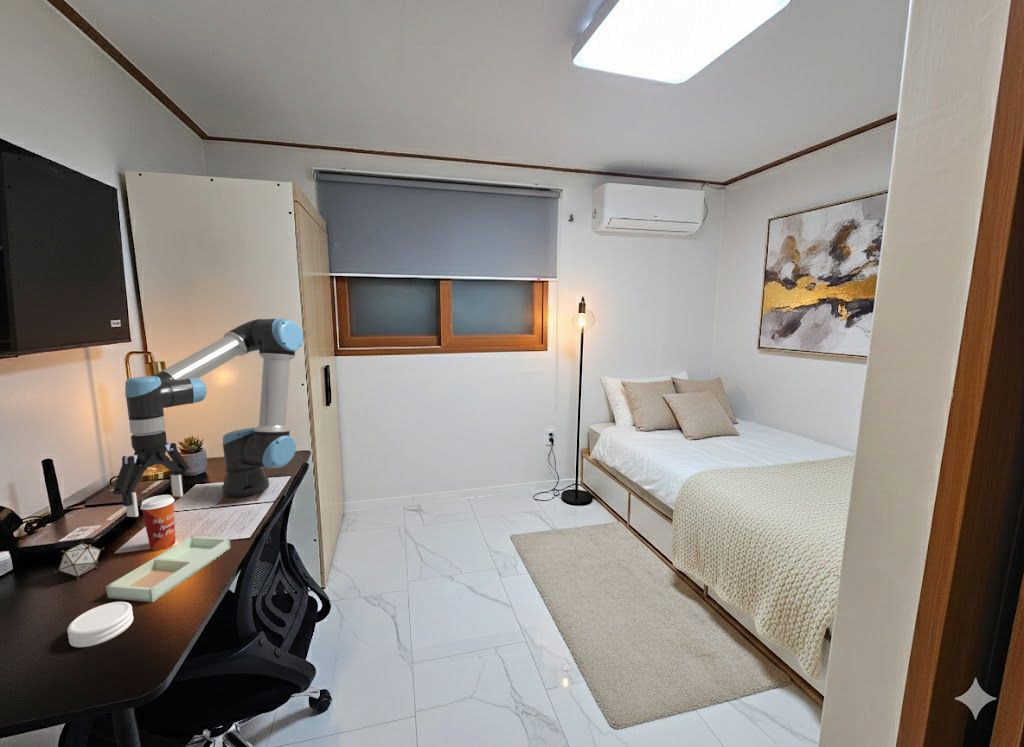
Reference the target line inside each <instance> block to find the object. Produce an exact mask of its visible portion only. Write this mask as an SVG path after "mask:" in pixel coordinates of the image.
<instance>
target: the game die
mask: <svg viewBox="0 0 1024 747" xmlns="http://www.w3.org/2000/svg"><path fill="white" fill-rule="evenodd" d="M84 542H85V541H84V540H83V539H82V540H81V541H80V543H79V544H78V545H76V546H74V547H72V548H70V549H68V550H66V551H65V550H61V553H63V555H61V562H60V564H59V567H58V569H55V571H54V574H55V573H58V572H61V573H65V574H67V575H71V576H74V577H76V580H77V581H79V580H80V576H82V575H84V574H85V573H88V572H89V571H91V570H92V569H99V567H98V566H97V565H98V564H100V563H99V561H98V560H99V557H100V554H101V551H103V550H104V549H105V547H101V548H98V547H95V546H92V545H89V544H87V543H84Z"/></svg>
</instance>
